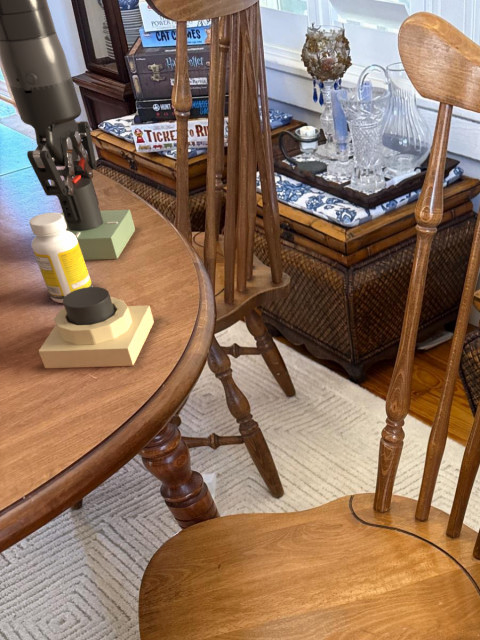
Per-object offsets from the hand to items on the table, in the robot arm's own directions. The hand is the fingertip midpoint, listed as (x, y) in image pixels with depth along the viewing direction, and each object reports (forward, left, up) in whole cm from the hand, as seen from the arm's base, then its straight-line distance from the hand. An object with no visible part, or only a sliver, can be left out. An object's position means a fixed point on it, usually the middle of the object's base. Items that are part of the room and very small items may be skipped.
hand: (83, 214), depth 109 cm
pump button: (+9, -28, -1) cm, 30 cm away
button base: (+9, -28, -4) cm, 30 cm away
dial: (0, 0, -1) cm, 1 cm away
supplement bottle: (+2, -15, -5) cm, 16 cm away
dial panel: (0, 0, -4) cm, 4 cm away
